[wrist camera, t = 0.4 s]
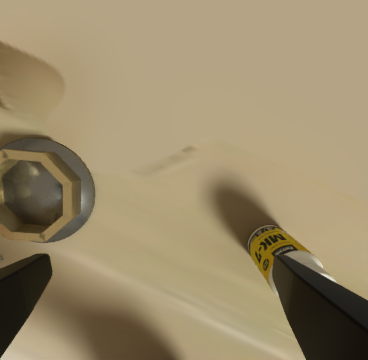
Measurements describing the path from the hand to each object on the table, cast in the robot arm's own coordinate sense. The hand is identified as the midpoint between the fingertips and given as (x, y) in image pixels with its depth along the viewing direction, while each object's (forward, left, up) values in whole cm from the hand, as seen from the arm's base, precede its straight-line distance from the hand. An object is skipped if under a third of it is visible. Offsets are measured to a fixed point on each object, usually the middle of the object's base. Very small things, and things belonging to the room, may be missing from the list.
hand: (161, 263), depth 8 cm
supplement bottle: (-5, -12, -15) cm, 19 cm away
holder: (-1, +13, -14) cm, 20 cm away
